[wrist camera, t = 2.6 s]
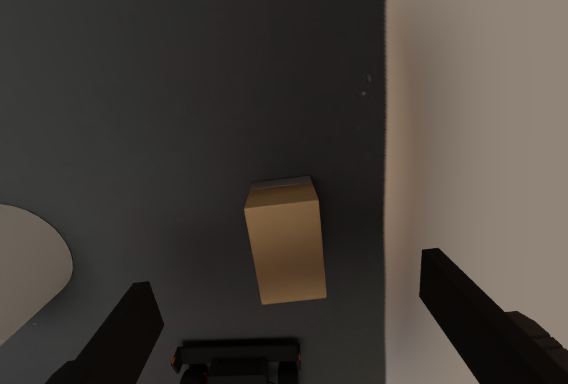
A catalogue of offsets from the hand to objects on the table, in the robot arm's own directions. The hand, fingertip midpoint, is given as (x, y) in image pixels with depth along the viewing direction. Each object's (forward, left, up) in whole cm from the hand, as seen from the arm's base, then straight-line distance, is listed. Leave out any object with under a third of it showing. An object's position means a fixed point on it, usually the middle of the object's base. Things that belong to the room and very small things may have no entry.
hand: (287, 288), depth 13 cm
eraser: (0, 0, -7) cm, 7 cm away
